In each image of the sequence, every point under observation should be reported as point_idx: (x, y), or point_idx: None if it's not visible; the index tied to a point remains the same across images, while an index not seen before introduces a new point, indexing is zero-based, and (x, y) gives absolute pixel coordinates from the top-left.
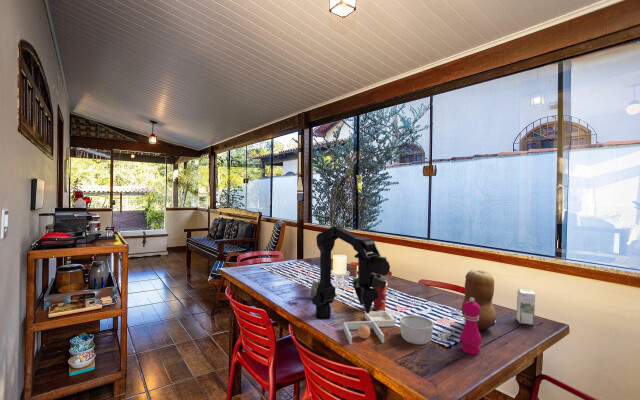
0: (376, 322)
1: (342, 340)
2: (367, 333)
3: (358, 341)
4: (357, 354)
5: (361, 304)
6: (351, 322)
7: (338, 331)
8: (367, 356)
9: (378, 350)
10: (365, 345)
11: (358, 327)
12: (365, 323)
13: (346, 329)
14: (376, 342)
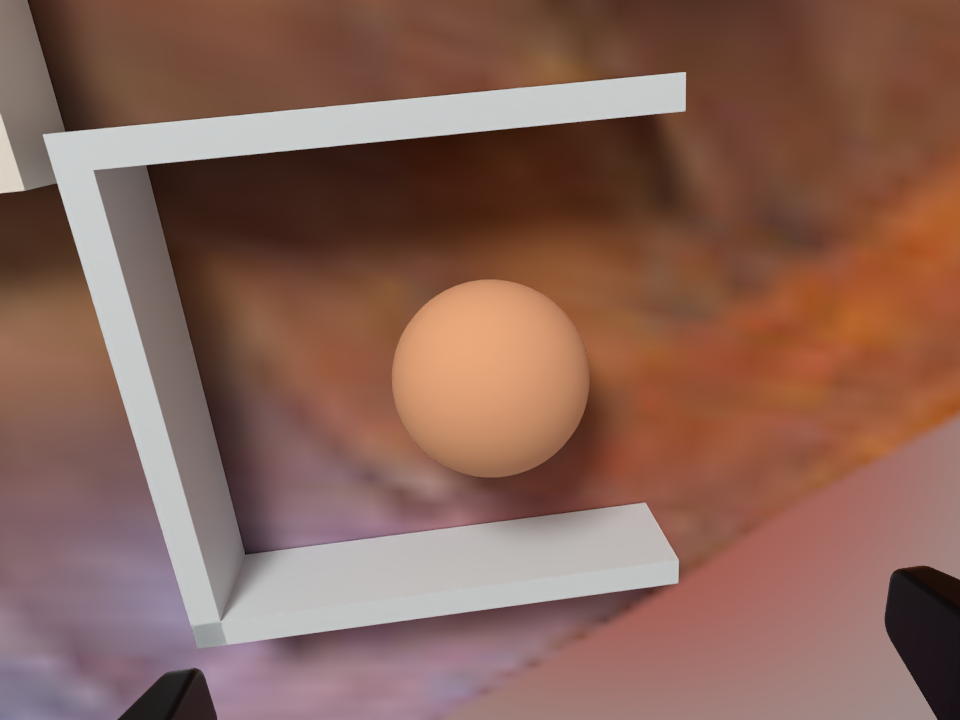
0: (5, 73)
1: None
2: (582, 342)
3: None
4: (873, 460)
5: (214, 712)
6: (193, 542)
7: None
8: (936, 362)
9: (833, 206)
10: (687, 351)
11: (195, 399)
12: (144, 310)
13: (447, 611)
14: (619, 190)
